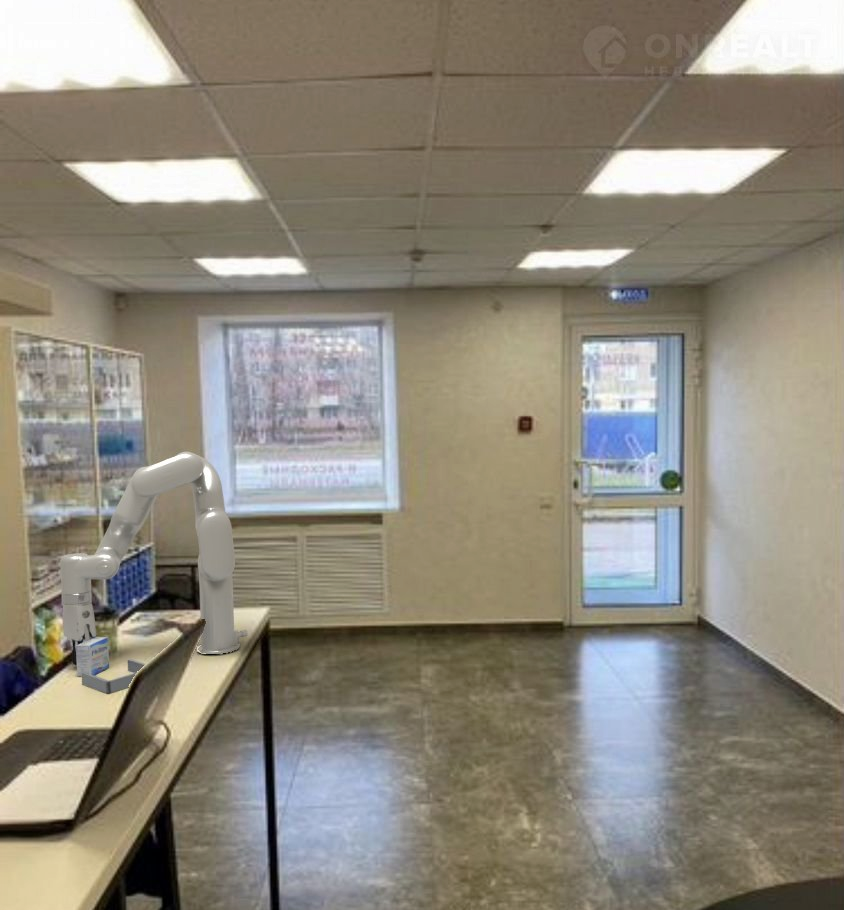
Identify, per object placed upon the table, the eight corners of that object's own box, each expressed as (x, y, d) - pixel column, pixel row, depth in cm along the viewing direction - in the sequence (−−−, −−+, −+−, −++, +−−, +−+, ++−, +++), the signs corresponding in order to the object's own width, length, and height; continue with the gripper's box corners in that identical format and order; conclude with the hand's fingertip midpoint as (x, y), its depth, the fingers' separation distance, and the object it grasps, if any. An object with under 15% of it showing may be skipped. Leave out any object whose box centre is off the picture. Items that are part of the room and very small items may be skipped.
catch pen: (130, 669, 197) (130, 658, 197) (157, 678, 190) (156, 667, 189) (81, 684, 187) (81, 672, 187) (107, 694, 179) (107, 682, 179)
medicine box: (91, 677, 192) (90, 645, 192) (76, 676, 193) (75, 644, 193) (109, 667, 200) (108, 637, 199) (95, 667, 201) (94, 636, 200)
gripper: (103, 598, 199) (106, 664, 199) (76, 592, 208) (79, 655, 208) (76, 604, 193) (79, 672, 193) (50, 597, 202) (53, 662, 202)
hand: (79, 663), depth 201 cm, fingers closed
